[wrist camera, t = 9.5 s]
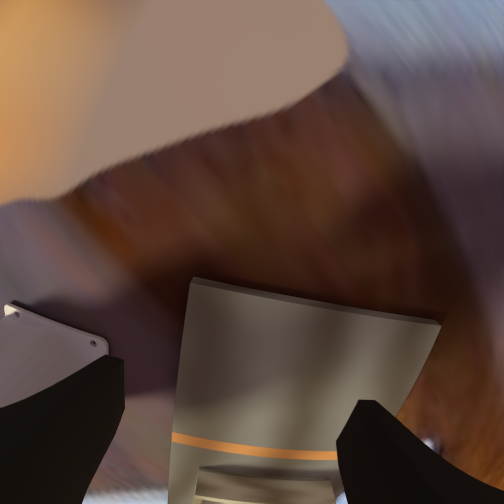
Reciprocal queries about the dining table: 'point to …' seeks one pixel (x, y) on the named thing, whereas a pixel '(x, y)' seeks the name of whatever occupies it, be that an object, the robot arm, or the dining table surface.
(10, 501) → the robot arm
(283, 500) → the throwing board
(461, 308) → the dining table surface
